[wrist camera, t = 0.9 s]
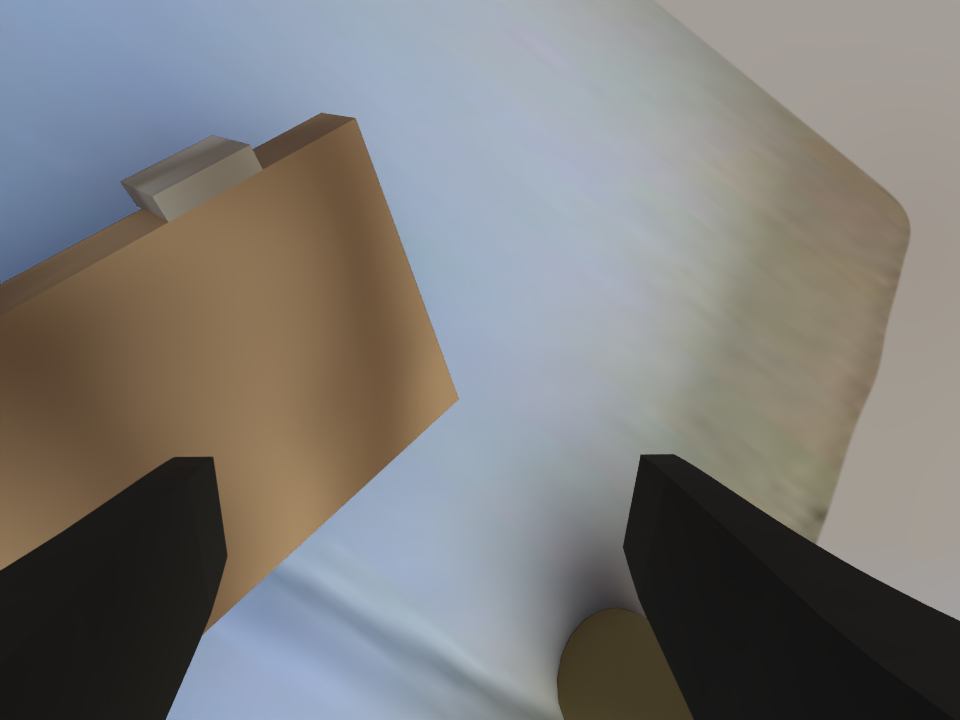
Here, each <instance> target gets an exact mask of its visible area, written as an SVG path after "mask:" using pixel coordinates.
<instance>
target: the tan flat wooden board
mask: <svg viewBox="0 0 960 720" xmlns="http://www.w3.org/2000/svg"><path fill="white" fill-rule="evenodd" d="M121 183H122V185H123V186H124V188H125V189H126V191H127V192H128V194H129V195H130V196H131V198H132V199H133V201H134V202H135V204H136V205H137V206H139V207H141V208H142V209H140V210H139V211H137V212H135V213H133V214H131V215H129V216H127V217H125V218H124V219H122V220H120V221H118V222H116V223H114V224H112V225H110V226H109V227H107V228H105V229H103V230H101V231H99V232H97V233H95V234H94V235H92V236H90V237H88V238H86V239H84V240H82V241H81V242H79V243H77V244H75V245H73V246H71V247H69V248H67V249H66V250H64V251H62V252H60V253H58V254H56V255H54V256H52V257H51V258H49V259H47V260H45V261H43V262H41V263H39V264H37V265H36V266H34V267H32V268H30V269H28V270H26V271H24V272H23V273H21V274H19V275H17V276H15V277H13V278H11V279H9V280H8V281H6V282H4V283H2V284H0V570H2V569H3V568H5V567H7V566H8V565H10V564H11V563H13V562H15V561H16V560H18V559H19V558H21V557H23V556H24V555H26V554H27V553H29V552H31V551H32V550H34V549H35V548H37V547H39V546H40V545H42V544H43V543H45V542H47V541H48V540H50V539H51V538H53V537H55V536H56V535H58V534H59V533H61V532H62V531H64V530H65V529H67V528H68V527H70V526H71V525H73V524H74V523H76V522H77V521H79V520H80V519H82V518H83V517H85V516H86V515H88V514H89V513H90V512H92V511H93V510H95V509H96V508H98V507H99V506H101V505H102V504H104V503H105V502H107V501H108V500H110V499H111V498H113V497H114V496H116V495H117V494H118V493H120V492H121V491H123V490H124V489H126V488H127V487H129V486H130V485H131V484H133V483H134V482H136V481H137V480H139V479H140V478H142V477H143V476H145V475H146V474H148V473H149V472H151V471H152V470H154V469H155V468H157V467H158V466H160V465H161V464H163V463H165V462H166V461H168V460H170V459H171V458H173V457H213V458H214V465H215V471H216V478H217V485H218V492H219V499H220V506H221V513H222V520H223V527H224V534H225V541H226V548H227V555H228V557H227V561H226V564H225V568H224V571H223V575H222V579H221V582H220V586H219V589H218V593H217V596H216V599H215V603H214V606H213V609H212V612H211V615H210V618H209V620H208V623H207V625H206V627H205V630H204V632H203V634H204V633H205V632H206V631H207V630H208V629H209V628H210V627H211V626H212V625H214V624H215V623H216V622H217V621H218V620H219V619H220V618H221V617H222V616H223V615H224V614H226V613H227V612H228V611H229V610H230V609H231V608H232V607H233V606H234V605H235V604H236V603H238V602H239V601H240V600H241V599H242V598H243V597H244V596H245V595H246V594H247V593H248V592H249V591H251V590H252V589H253V588H254V587H255V586H256V585H257V584H258V583H259V582H260V581H261V580H263V579H264V578H265V577H266V576H267V575H268V574H269V573H270V572H271V571H272V570H273V569H275V568H276V567H277V566H278V565H279V564H280V563H281V562H282V561H283V560H284V559H285V558H287V557H288V556H289V555H290V554H291V553H292V552H293V551H294V550H295V549H296V548H297V547H298V546H300V545H301V544H302V543H303V542H304V541H305V540H306V539H307V538H308V537H309V536H310V535H312V534H313V533H314V532H315V531H316V530H317V529H318V528H319V527H320V526H321V525H322V524H324V523H325V522H326V521H327V520H328V519H329V518H330V517H331V516H332V515H333V514H334V513H335V512H337V511H338V510H339V509H340V508H341V507H342V506H343V505H344V504H345V503H346V502H347V501H349V500H350V499H351V498H352V497H353V496H354V495H355V494H356V493H357V492H358V491H359V490H361V489H362V488H363V487H364V486H365V485H366V484H367V483H368V482H369V481H370V480H371V479H372V478H374V477H375V476H376V475H377V474H378V473H379V472H380V471H381V470H382V469H383V468H384V467H386V466H387V465H388V464H389V463H390V462H391V461H392V460H393V459H394V458H395V457H396V456H398V455H399V454H400V453H401V452H402V451H403V450H404V449H405V448H406V447H407V446H408V445H410V444H411V443H412V442H413V441H414V440H415V439H416V438H417V437H418V436H419V435H420V434H421V433H423V432H424V431H425V430H426V429H427V428H428V427H429V426H430V425H431V424H432V423H433V422H435V421H436V420H437V419H438V418H439V417H440V416H441V415H442V414H443V413H444V412H445V411H447V410H448V409H449V408H450V407H451V406H452V405H453V404H454V403H455V402H456V401H457V400H458V399H459V398H458V395H457V392H456V390H455V387H454V384H453V382H452V379H451V376H450V373H449V371H448V368H447V365H446V363H445V360H444V357H443V354H442V352H441V349H440V346H439V344H438V341H437V338H436V335H435V333H434V330H433V327H432V325H431V322H430V319H429V316H428V314H427V311H426V308H425V306H424V303H423V300H422V297H421V295H420V292H419V289H418V286H417V284H416V281H415V278H414V276H413V273H412V270H411V267H410V265H409V262H408V259H407V257H406V254H405V251H404V248H403V246H402V243H401V240H400V238H399V235H398V232H397V229H396V227H395V224H394V221H393V219H392V216H391V213H390V210H389V208H388V205H387V202H386V200H385V197H384V194H383V191H382V189H381V186H380V183H379V180H378V178H377V175H376V172H375V170H374V167H373V164H372V161H371V159H370V156H369V153H368V151H367V148H366V145H365V142H364V140H363V137H362V134H361V132H360V129H359V126H358V123H357V121H356V118H351V117H345V116H338V115H332V114H325V113H320V114H318V115H316V116H314V117H313V118H311V119H309V120H307V121H305V122H303V123H301V124H299V125H298V126H296V127H294V128H292V129H290V130H288V131H286V132H285V133H283V134H281V135H279V136H277V137H275V138H273V139H271V140H270V141H268V142H266V143H264V144H262V145H260V146H258V147H256V148H255V149H253V150H252V148H251V146H250V145H249V144H245V143H241V142H237V141H233V140H229V139H225V138H221V137H217V136H213V135H212V136H210V137H208V138H206V139H204V140H202V141H200V142H198V143H196V144H194V145H192V146H190V147H188V148H186V149H184V150H182V151H180V152H178V153H176V154H174V155H172V156H170V157H168V158H166V159H164V160H162V161H160V162H158V163H156V164H154V165H152V166H150V167H148V168H146V169H144V170H142V171H140V172H138V173H137V174H135V175H133V176H131V177H129V178H127V179H125V180H123V181H121ZM203 634H202V635H203Z"/></svg>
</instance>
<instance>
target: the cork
mask: <svg viewBox="0 0 960 720" xmlns="http://www.w3.org/2000/svg"><path fill="white" fill-rule="evenodd" d="M557 683H558V697H559V705H560V708H561V711H562V714H563V716H564V719H565V720H694V719H693V717H692V715H691V712H690V710H689V708H688V706H687V704H686V702H685V699H684V697H683V695H682V693H681V691H680V689H679V686H678V684H677V682H676V680H675V678H674V676H673V674H672V671H671V669H670V667H669V665H668V663H667V661H666V658H665V656H664V654H663V652H662V650H661V648H660V645H659V643H658V641H657V639H656V637H655V634H654V632H653V630H652V628H651V626H650V623H649V621H648V619H646V618H644V617H642V616H640V615H638V614H636V613H635V612H632V611H628V610H624V609H620V608H613V609H607V610H601V611H599V612H597V613H595V614H594V615H592V616H590V617H589V618H587V619H585V620H584V621H583V622H582V623H581V624H580V626H579V627H578V628H577V629H576V630H575V632H574V633H573V634H572V635H571V636H570V639H569V641H568V643H567V645H566V647H565V650H564V652H563V654H562V656H561V662H560V667H559V673H558V679H557Z"/></svg>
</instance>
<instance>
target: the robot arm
mask: <svg viewBox="0 0 960 720" xmlns="http://www.w3.org/2000/svg"><path fill="white" fill-rule="evenodd" d="M623 549H624V552H625V556H626V559H627V563H628V566H629V570H630V573H631V576H632V579H633V583H634V586H635V589H636V592H637V595H638V598H639V601H640V603H641V605H642V608H643V610H644V612H645V614H646V617H647V619H648V621H649V623H650V626H651V628H652V630H653V632H654V634H655V637H656V639H657V641H658V643H659V645H660V648H661V650H662V652H663V654H664V656H665V658H666V661H667V663H668V665H669V667H670V669H671V671H672V674H673V676H674V678H675V680H676V682H677V684H678V686H679V689H680V691H681V693H682V695H683V697H684V699H685V702H686V704H687V706H688V708H689V710H690V712H691V715H692V717H693V719H694V720H960V621H959V620H957V619H955V618H953V617H950V616H948V615H946V614H944V613H942V612H940V611H938V610H936V609H934V608H932V607H929V606H927V605H925V604H923V603H921V602H920V601H918V600H916V599H914V598H911V597H910V596H908V595H906V594H904V593H902V592H900V591H898V590H896V589H894V588H892V587H890V586H889V585H886V584H884V583H883V582H881V581H879V580H877V579H875V578H873V577H871V576H869V575H868V574H866V573H864V572H862V571H860V570H858V569H856V568H855V567H853V566H851V565H850V564H848V563H846V562H844V561H843V560H841V559H839V558H838V557H836V556H834V555H833V554H831V553H829V552H827V551H826V550H824V549H822V548H821V547H819V546H817V545H816V544H814V543H812V542H811V541H809V540H807V539H806V538H804V537H802V536H801V535H799V534H798V533H796V532H794V531H793V530H791V529H790V528H788V527H786V526H785V525H783V524H782V523H780V522H779V521H777V520H775V519H774V518H772V517H771V516H769V515H768V514H766V513H765V512H763V511H762V510H760V509H759V508H757V507H755V506H754V505H752V504H751V503H749V502H748V501H746V500H745V499H743V498H742V497H740V496H739V495H737V494H736V493H734V492H733V491H731V490H730V489H728V488H727V487H725V486H724V485H722V484H721V483H719V482H718V481H716V480H715V479H713V478H712V477H710V476H709V475H707V474H706V473H704V472H703V471H701V470H700V469H698V468H697V467H695V466H693V465H692V464H690V463H688V462H687V461H685V460H683V459H682V458H680V457H678V456H676V455H674V454H657V455H641V456H640V461H639V467H638V472H637V477H636V482H635V487H634V492H633V498H632V503H631V508H630V513H629V518H628V524H627V529H626V534H625V539H624V544H623ZM227 557H228V555H227V548H226V541H225V534H224V527H223V520H222V513H221V506H220V499H219V492H218V485H217V478H216V471H215V465H214V458H213V457H173V458H171V459H170V460H168V461H166V462H165V463H163V464H161V465H160V466H158V467H157V468H155V469H154V470H152V471H151V472H149V473H148V474H146V475H145V476H143V477H142V478H140V479H139V480H137V481H136V482H134V483H133V484H131V485H130V486H129V487H127V488H126V489H124V490H123V491H121V492H120V493H118V494H117V495H116V496H114V497H113V498H111V499H110V500H108V501H107V502H105V503H104V504H102V505H101V506H99V507H98V508H96V509H95V510H93V511H92V512H90V513H89V514H88V515H86V516H85V517H83V518H82V519H80V520H79V521H77V522H76V523H74V524H73V525H71V526H70V527H68V528H67V529H65V530H64V531H62V532H61V533H59V534H58V535H56V536H55V537H53V538H51V539H50V540H48V541H47V542H45V543H43V544H42V545H40V546H39V547H37V548H35V549H34V550H32V551H31V552H29V553H27V554H26V555H24V556H23V557H21V558H19V559H18V560H16V561H15V562H13V563H11V564H10V565H8V566H7V567H5V568H3V569H2V570H0V720H166V717H167V715H168V713H169V710H170V708H171V706H172V704H173V701H174V699H175V697H176V694H177V692H178V690H179V688H180V685H181V683H182V681H183V678H184V676H185V674H186V672H187V669H188V667H189V665H190V662H191V660H192V658H193V655H194V653H195V651H196V648H197V646H198V644H199V641H200V639H201V637H202V634H203V632H204V630H205V627H206V625H207V623H208V620H209V618H210V615H211V612H212V609H213V606H214V603H215V599H216V596H217V593H218V589H219V586H220V582H221V579H222V575H223V571H224V568H225V564H226V561H227Z"/></svg>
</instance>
